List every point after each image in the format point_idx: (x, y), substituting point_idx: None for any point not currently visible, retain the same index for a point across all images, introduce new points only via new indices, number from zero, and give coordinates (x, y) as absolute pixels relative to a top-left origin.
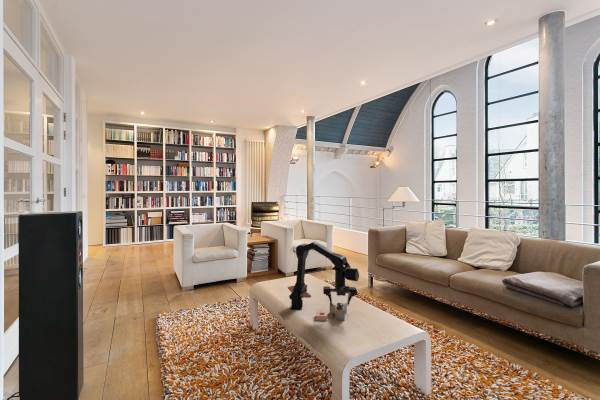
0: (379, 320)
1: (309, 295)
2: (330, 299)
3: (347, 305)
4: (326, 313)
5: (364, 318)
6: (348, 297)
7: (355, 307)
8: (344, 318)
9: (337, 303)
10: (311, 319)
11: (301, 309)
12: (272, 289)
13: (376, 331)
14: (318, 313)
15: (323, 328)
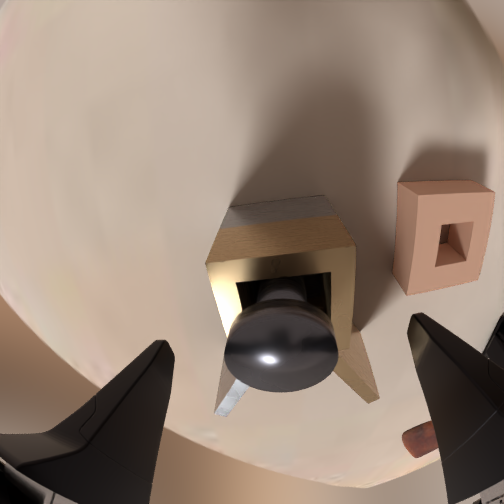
0: (25, 266)
1: (409, 436)
2: (488, 373)
3: (165, 346)
4: (417, 259)
5: (90, 281)
6: (113, 455)
7: (185, 402)
8: (226, 215)
9: (328, 366)
10: (495, 192)
11: (500, 319)
12: None
13: (10, 103)
14: (475, 245)
15: (415, 23)
